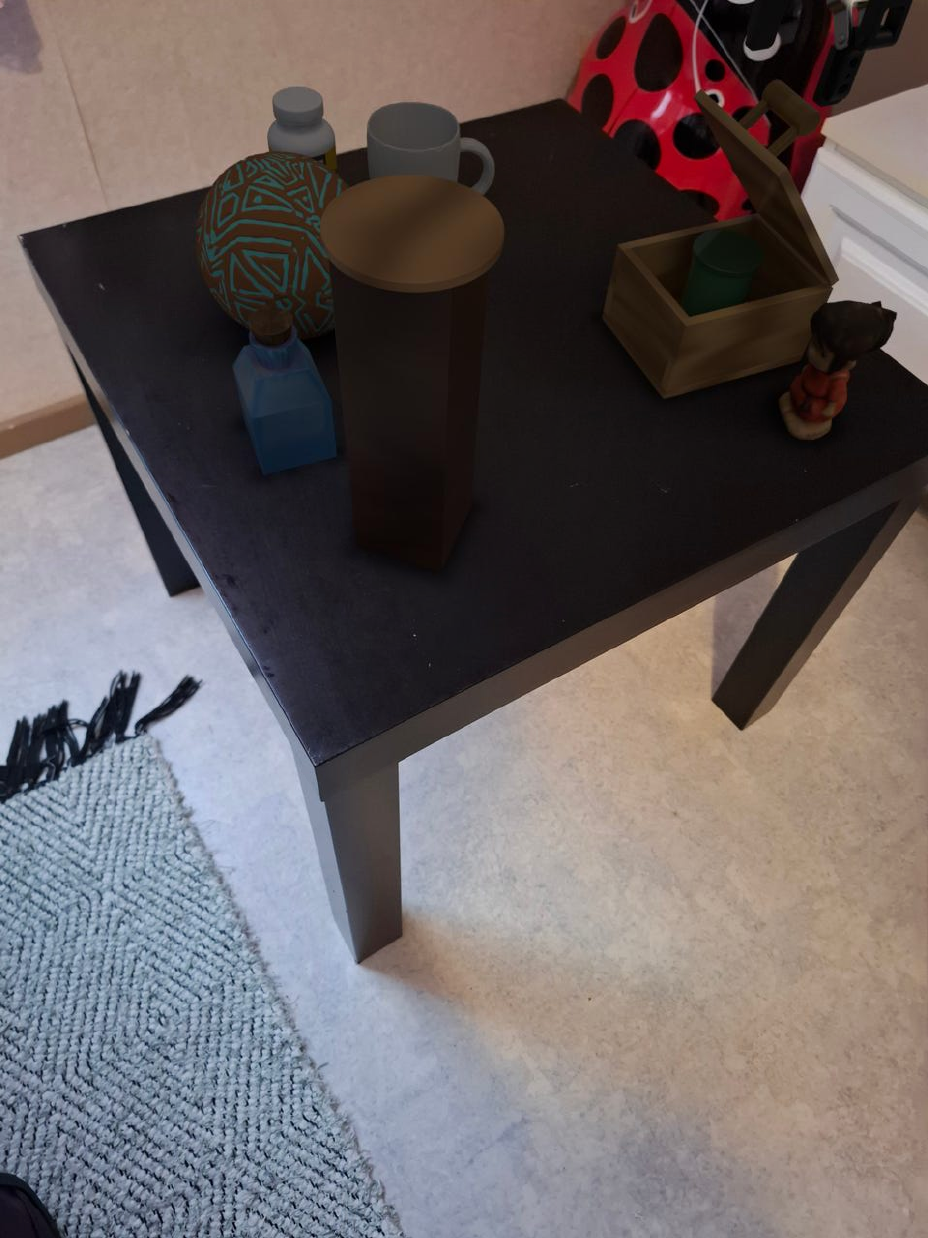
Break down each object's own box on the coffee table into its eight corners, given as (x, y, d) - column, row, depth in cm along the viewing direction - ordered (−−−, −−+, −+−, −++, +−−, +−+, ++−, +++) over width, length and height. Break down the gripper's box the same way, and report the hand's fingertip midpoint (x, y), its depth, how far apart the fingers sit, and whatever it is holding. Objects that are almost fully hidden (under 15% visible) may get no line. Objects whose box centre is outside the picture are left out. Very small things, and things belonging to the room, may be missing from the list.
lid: (777, 175, 63) (841, 117, 61) (692, 96, 69) (747, 40, 67) (831, 286, 75) (886, 241, 73) (755, 211, 81) (804, 167, 79)
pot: (739, 320, 83) (769, 238, 76) (729, 360, 80) (759, 279, 73) (676, 304, 84) (700, 222, 77) (663, 343, 81) (687, 261, 74)
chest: (663, 399, 78) (685, 325, 72) (601, 318, 84) (617, 243, 77) (800, 361, 82) (833, 287, 75) (732, 286, 88) (757, 212, 81)
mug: (378, 252, 88) (375, 153, 80) (363, 202, 93) (358, 103, 85) (501, 240, 90) (509, 142, 82) (480, 191, 95) (486, 94, 87)
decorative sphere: (183, 313, 82) (140, 153, 69) (314, 253, 88) (296, 96, 75) (276, 400, 76) (248, 243, 63) (409, 330, 82) (408, 173, 69)
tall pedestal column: (494, 499, 71) (527, 197, 49) (453, 594, 65) (469, 301, 44) (379, 465, 72) (362, 158, 51) (329, 555, 67) (288, 255, 46)
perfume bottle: (337, 456, 73) (324, 338, 63) (263, 475, 71) (238, 356, 61) (315, 406, 76) (300, 286, 66) (244, 423, 74) (217, 303, 64)
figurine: (800, 384, 80) (855, 268, 70) (850, 419, 78) (914, 304, 68) (756, 413, 78) (806, 297, 68) (806, 450, 75) (865, 336, 65)
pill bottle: (291, 239, 89) (276, 122, 79) (268, 206, 92) (251, 88, 82) (351, 224, 91) (343, 108, 81) (326, 192, 94) (316, 76, 84)
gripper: (1030, -195, 47) (894, 115, 61) (868, -269, 54) (778, 23, 68) (920, -185, 45) (805, 132, 59) (766, -262, 52) (695, 37, 66)
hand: (790, 74), depth 63 cm, fingers open, 8 cm apart
